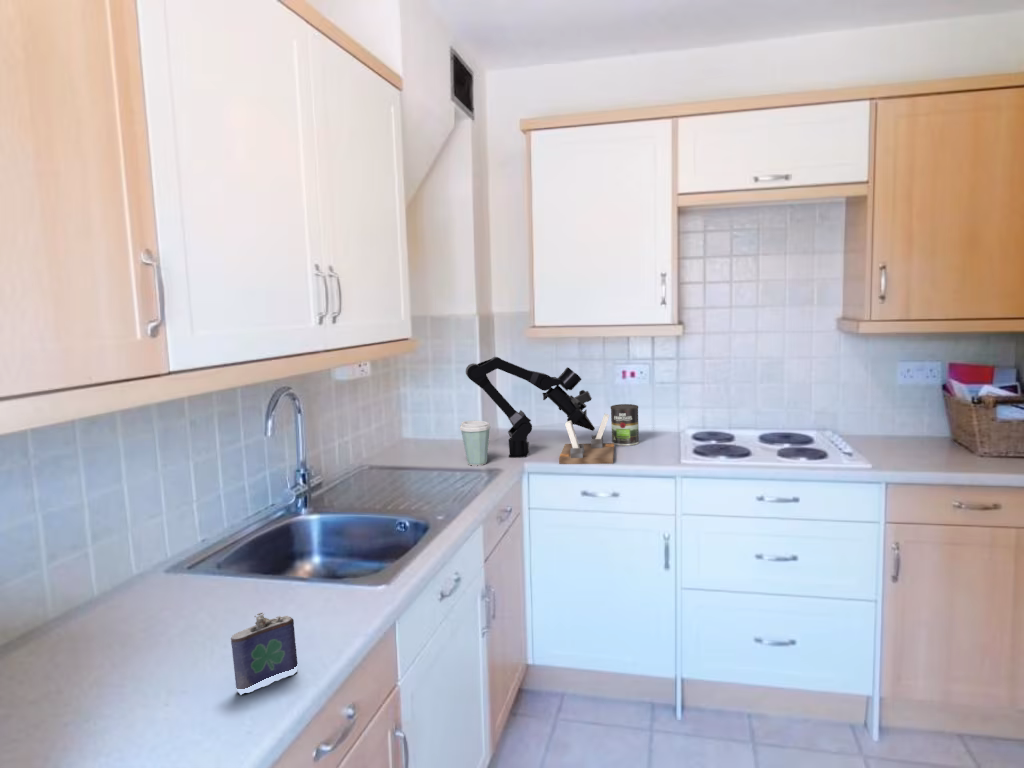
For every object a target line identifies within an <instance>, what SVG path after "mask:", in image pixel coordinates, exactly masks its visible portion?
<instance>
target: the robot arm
mask: <svg viewBox="0 0 1024 768" xmlns="http://www.w3.org/2000/svg"><path fill="white" fill-rule="evenodd" d="M495 370H500V371H503V372H505V373H508V374H509V375H512V376H514V377H517V378H519V379H522V380H525V381H527V382H528V383H529V384H531V385H533V386H535V387H536V388H537V389H540V390H541V391H544V392H542V401H546V400H547V398H548V399H549V400H550V401H551V402H552V403H553V404H555V406H557V408H558V410H559V411H562V412H563V413H564V414H565V415H566V417H567V419H566V420H567V421H572V424H573V426H574V425H576V426H579V427H581V428H585V429H587V430H589V431H592V432H594V431H595V430H596V428H595V426H594V425H593V423H592V421H591V420H590V419H589V417H588V415H587V414H588V413H587V409H585V408H587V405H586V404H585V403H588V402H590V401H592V399H593V397H592V396H591V394H590V392H589V391H588V390H586V391H585V390H584V389H581V390H579V393H578V394H579V395H576V396H575V397H574V396H573V395H570V394H568V393H567V392H566V391H573V390H574V388H575V387H576V386H577V385H579V383H580V382H581V381H582V378H581V376H579V374H578V373H577V372H575V371H573V370H572V369H571V368H570V367H566V368H565V369H564V371H563V372H562V373H560V375H558V377H556V376H550V375H549V374H548V373H547V374H546V373H544V372H539V371H533V370H529V369H526V368H524V367H522V366H519V365H517V364H515V363H511V362H509V361H506V360H504V359H502V358H500V357H498V356H494V357H492V358H490V359H488V360H484V361H481V362H478V363H474V362H473V363H470V364H468V365H467V366H466V368H465V375H466V377H467V378H468V379H469V380H471V382H473V384H475V385H476V386H478V387H479V388H481V389H482V390H483V391H484V392H485V393H486V394H487V395H488V397H489V398H490V399H491V401H493V402H494V403H495V405H497V406H498V408H499V409H500V410H501V411H502V412H503V413H504V414H505V416H506V417H507V419H508V420H509V422H510V425H512V426H511V428H510V429H509V430H507V433H508V436H509V439H508V449H509V451H508V452H509V455H508V458H526V457H528V455H529V454H530V442H529V441H528V437H529V436H528V435H529V434H531V432H532V429H533V424H532V423H531V422H532V420H531V419H530V417H528V416H527V415H526V414H525V412H524V411H523V410H521V409H520V410H519V411H517V410H515V409H514V407H513V406H512V405H511V404H510V403H509V402H508V400H507V399H506V398H505V397H504V396H503V395H502V394H501V392H499V390H498V389H497V388H496V387H495V386H494V385H493V384H492V382H491V381H490V379H489V378H488V377H489V376H488V374H490V373H492V372H494V371H495ZM553 387H554V388H553ZM545 391H546V392H545ZM583 410H584V411H583ZM567 421H566V422H567Z"/></svg>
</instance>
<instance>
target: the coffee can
mask: <svg viewBox="0 0 1024 768" xmlns="http://www.w3.org/2000/svg"><path fill="white" fill-rule="evenodd" d="M610 420H611V421H610V422H611V424H610V425H611V443H614V446H622V447H625V446H626V447H629V446H636V445H639V444H640V441H639V439H640V436H639V433H640V432H639V431H640V430H639V405H637V404H633V403H632V404H629V403H622V404H613V405H611V406H610Z"/></svg>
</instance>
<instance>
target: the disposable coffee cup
mask: <svg viewBox="0 0 1024 768" xmlns="http://www.w3.org/2000/svg"><path fill="white" fill-rule="evenodd" d="M459 428H460V429H459V430H460V431H461V435H462V442H463V445H464V452H465V456H466V461H467V464H468V465H469V466H470V465H472V466H471V467H478V466H477V465H481V466H484V465H483V464H485V465H486V464H487V462H488V452H489V441H490V440H489V439H490V430H491V424H490V423H489V422H488V421H484V420H464V421H461V424H460V427H459Z"/></svg>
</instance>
